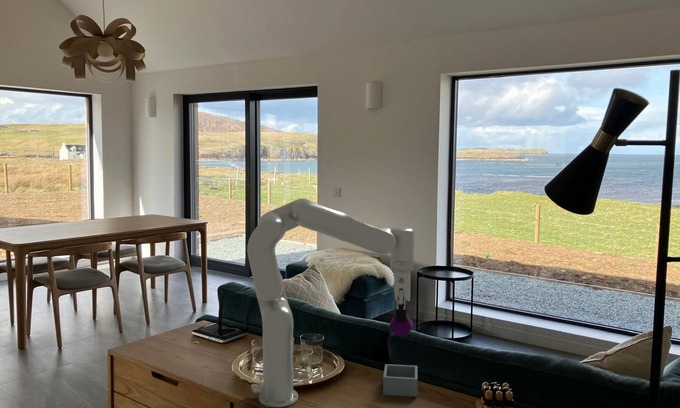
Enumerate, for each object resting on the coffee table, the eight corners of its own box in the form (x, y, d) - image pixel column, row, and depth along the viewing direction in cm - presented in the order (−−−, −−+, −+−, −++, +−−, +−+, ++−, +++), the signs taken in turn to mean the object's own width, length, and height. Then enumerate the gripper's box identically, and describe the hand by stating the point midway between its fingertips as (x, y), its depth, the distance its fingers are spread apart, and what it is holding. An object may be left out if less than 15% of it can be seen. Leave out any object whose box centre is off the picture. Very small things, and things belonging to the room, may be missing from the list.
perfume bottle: (411, 338, 184) (412, 284, 182) (388, 336, 185) (389, 283, 183) (413, 331, 191) (414, 279, 189) (391, 329, 192) (391, 278, 190)
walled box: (383, 394, 185) (383, 377, 185) (385, 380, 196) (385, 364, 196) (417, 396, 184) (417, 379, 183) (417, 382, 195) (417, 365, 194)
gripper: (413, 271, 177) (412, 327, 179) (413, 260, 193) (412, 311, 195) (389, 270, 178) (388, 326, 180) (391, 259, 194) (391, 311, 196)
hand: (401, 318), depth 187 cm, fingers closed on perfume bottle, 4 cm apart
